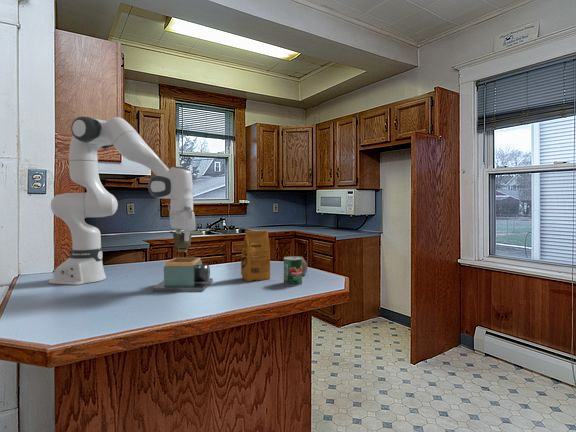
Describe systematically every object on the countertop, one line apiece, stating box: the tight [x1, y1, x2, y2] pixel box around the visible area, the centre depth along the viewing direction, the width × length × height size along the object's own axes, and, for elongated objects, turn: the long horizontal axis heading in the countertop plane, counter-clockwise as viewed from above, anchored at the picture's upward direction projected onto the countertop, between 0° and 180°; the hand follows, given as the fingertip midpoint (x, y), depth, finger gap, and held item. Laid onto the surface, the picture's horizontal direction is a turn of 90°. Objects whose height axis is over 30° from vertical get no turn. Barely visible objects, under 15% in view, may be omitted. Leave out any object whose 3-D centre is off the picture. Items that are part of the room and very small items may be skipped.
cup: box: [172, 232, 193, 253], centre depth 147 cm, size 8×7×8 cm
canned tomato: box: [283, 255, 303, 287], centre depth 151 cm, size 8×8×11 cm
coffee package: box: [240, 229, 271, 282], centre depth 160 cm, size 10×12×22 cm
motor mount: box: [151, 257, 214, 293], centre depth 148 cm, size 20×16×11 cm
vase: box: [297, 255, 308, 277], centre depth 167 cm, size 7×7×9 cm
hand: (182, 240), depth 147 cm, fingers closed on cup, 7 cm apart
